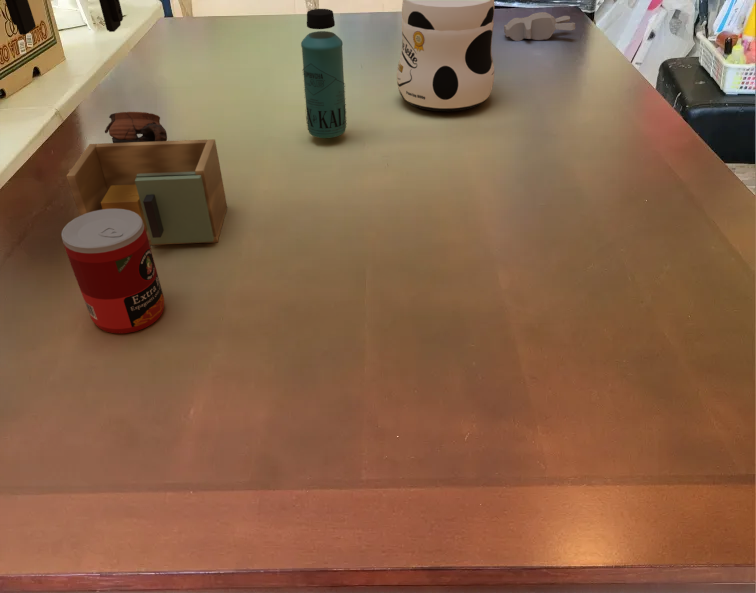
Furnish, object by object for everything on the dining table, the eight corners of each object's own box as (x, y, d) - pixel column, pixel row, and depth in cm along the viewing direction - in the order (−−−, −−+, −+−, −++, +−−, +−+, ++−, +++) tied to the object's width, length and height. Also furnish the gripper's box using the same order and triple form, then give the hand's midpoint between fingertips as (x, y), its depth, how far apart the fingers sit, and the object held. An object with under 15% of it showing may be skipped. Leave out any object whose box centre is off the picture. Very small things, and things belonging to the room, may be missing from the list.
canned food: (147, 339, 68) (120, 250, 62) (77, 331, 70) (43, 244, 63) (178, 295, 74) (156, 210, 68) (113, 289, 76) (85, 205, 69)
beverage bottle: (314, 130, 111) (303, 3, 99) (352, 132, 110) (346, 5, 98) (302, 146, 106) (290, 15, 94) (342, 149, 105) (335, 16, 92)
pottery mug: (94, 167, 102) (90, 113, 101) (144, 171, 110) (141, 121, 109) (145, 163, 96) (142, 105, 95) (194, 167, 104) (192, 114, 103)
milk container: (377, 100, 121) (375, -4, 110) (443, 78, 130) (447, -21, 119) (444, 128, 110) (449, 15, 100) (511, 101, 119) (523, -5, 108)
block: (110, 234, 84) (100, 202, 81) (119, 216, 87) (110, 185, 85) (146, 232, 84) (137, 201, 81) (154, 214, 87) (146, 183, 85)
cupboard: (90, 247, 83) (65, 175, 77) (110, 212, 90) (89, 143, 84) (217, 242, 83) (203, 170, 77) (227, 207, 90) (215, 139, 84)
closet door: (148, 251, 80) (130, 187, 75) (153, 241, 82) (136, 177, 77) (211, 248, 80) (197, 184, 75) (214, 238, 82) (201, 174, 77)
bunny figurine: (502, 14, 152) (568, 5, 150) (502, 37, 155) (567, 28, 153) (507, 25, 144) (577, 16, 143) (508, 49, 147) (576, 40, 146)
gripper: (-93, -149, 61) (-21, 42, 71) (96, -154, 61) (140, 37, 71) (-54, -153, 67) (7, 23, 77) (118, -158, 67) (156, 18, 77)
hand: (71, 30), depth 74 cm, fingers open, 9 cm apart
